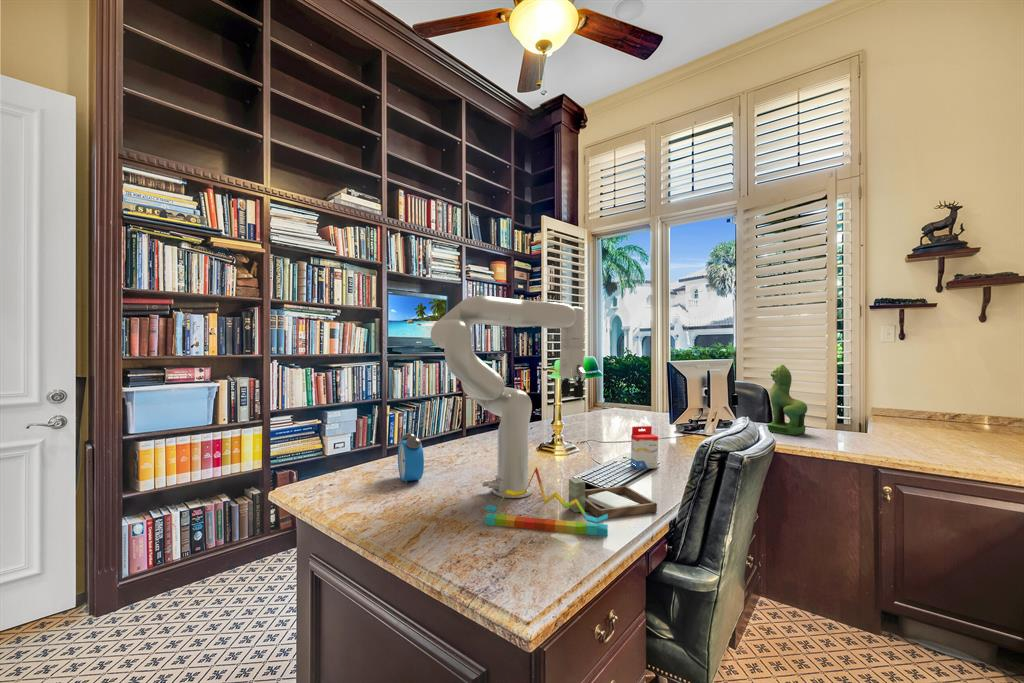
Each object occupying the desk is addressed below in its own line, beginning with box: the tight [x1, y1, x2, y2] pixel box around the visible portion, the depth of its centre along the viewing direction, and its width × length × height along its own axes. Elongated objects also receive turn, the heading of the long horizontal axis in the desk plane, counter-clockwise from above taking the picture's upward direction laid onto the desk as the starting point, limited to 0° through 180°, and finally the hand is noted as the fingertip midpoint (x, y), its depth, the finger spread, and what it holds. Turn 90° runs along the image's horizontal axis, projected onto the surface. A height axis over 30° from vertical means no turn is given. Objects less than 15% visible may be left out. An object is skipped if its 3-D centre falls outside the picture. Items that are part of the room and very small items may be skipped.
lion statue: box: [766, 364, 808, 436], centre depth 230 cm, size 14×17×35 cm
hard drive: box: [587, 491, 640, 509], centre depth 127 cm, size 2×8×12 cm
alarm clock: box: [397, 432, 425, 485], centre depth 148 cm, size 13×6×15 cm, turn 25°
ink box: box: [630, 425, 659, 470], centre depth 166 cm, size 8×5×15 cm, turn 102°
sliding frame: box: [568, 477, 658, 519], centre depth 127 cm, size 22×16×8 cm
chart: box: [484, 466, 609, 537], centre depth 112 cm, size 30×3×15 cm, turn 78°
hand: (571, 395), depth 149 cm, fingers open, 9 cm apart
